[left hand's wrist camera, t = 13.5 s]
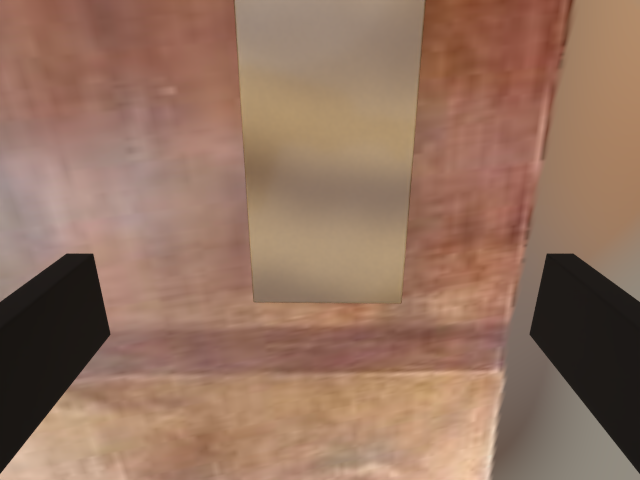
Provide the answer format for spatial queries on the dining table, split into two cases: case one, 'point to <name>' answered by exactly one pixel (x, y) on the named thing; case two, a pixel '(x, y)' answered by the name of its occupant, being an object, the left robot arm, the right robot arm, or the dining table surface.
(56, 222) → the dining table surface
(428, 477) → the dining table surface
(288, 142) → the wide beam
